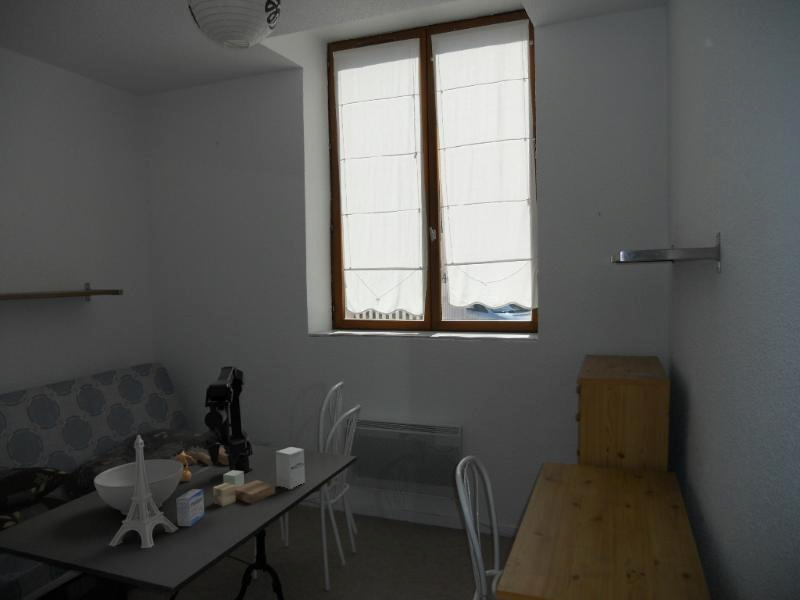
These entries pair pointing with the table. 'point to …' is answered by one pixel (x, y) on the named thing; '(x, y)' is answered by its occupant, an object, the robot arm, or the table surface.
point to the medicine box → (190, 507)
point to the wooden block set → (206, 458)
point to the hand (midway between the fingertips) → (223, 467)
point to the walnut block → (254, 491)
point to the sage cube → (234, 478)
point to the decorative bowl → (121, 483)
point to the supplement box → (290, 467)
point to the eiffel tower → (142, 507)
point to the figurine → (186, 474)
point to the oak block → (224, 494)
